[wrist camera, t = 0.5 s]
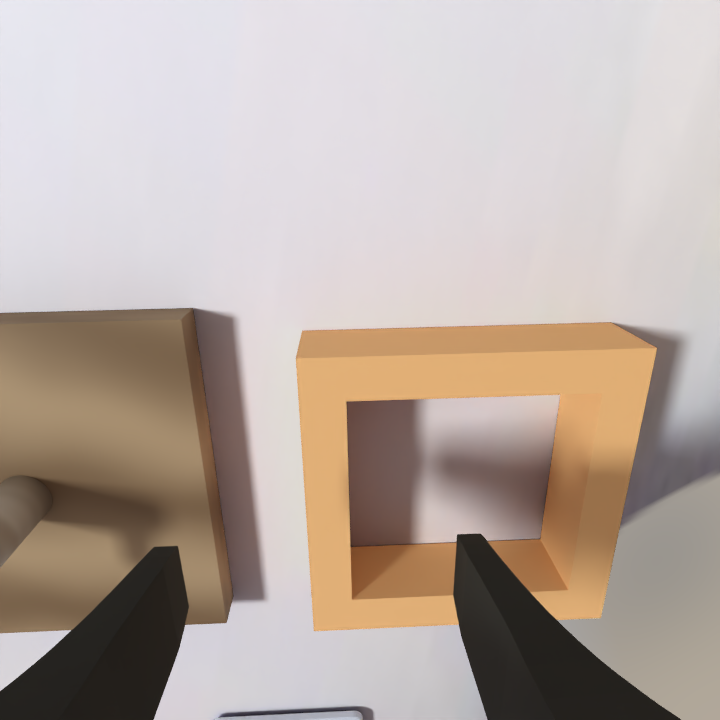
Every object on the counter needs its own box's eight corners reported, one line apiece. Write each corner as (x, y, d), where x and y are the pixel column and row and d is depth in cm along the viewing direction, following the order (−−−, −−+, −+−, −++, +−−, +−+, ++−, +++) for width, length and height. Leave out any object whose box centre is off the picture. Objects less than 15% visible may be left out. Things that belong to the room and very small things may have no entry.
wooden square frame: (569, 564, 24) (600, 617, 21) (317, 575, 23) (314, 631, 20) (610, 322, 19) (657, 347, 17) (302, 330, 19) (295, 358, 16)
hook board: (233, 595, 23) (200, 729, 18) (-71, 609, 23) (-203, 749, 17) (192, 308, 18) (129, 367, 13) (-196, 318, 18) (-438, 384, 12)
